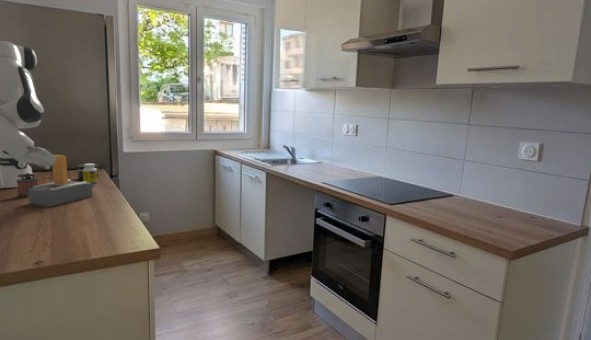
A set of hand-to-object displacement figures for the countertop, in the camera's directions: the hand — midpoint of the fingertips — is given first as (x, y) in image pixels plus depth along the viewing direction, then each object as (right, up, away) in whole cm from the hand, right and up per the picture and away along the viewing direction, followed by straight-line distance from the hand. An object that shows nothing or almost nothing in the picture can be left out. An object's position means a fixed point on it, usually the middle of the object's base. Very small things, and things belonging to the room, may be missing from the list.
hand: (47, 167), depth 159 cm
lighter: (-17, -13, +14) cm, 25 cm away
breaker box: (+2, -14, +7) cm, 16 cm away
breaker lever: (+2, -7, +6) cm, 10 cm away
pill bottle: (-1, -9, +36) cm, 38 cm away
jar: (-12, -6, +53) cm, 55 cm away
